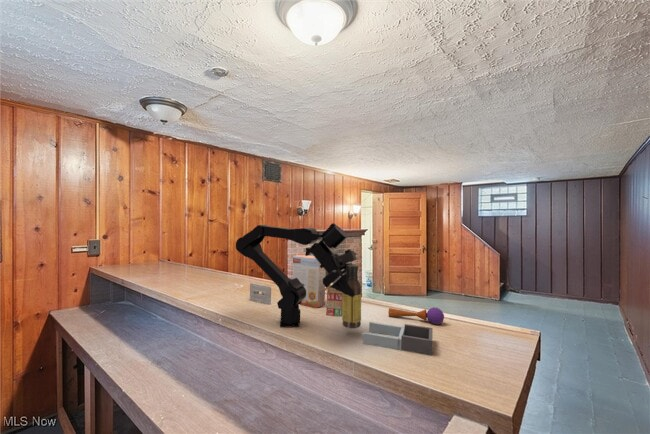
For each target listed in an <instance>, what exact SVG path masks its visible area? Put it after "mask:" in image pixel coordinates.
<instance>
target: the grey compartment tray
mask: <svg viewBox="0 0 650 434" xmlns="http://www.w3.org/2000/svg"><path fill="white" fill-rule="evenodd" d="M368 324H369V325H368V332H365V331H363V332H362V344H364V345H365V344H366V345H371V346H378V347H382V348H389V349H395V350H400V351H405V352H412V353H415V354H416V353H417V354H423V355H428V356H433V337H434V336H433V333H434V331H433V327H428V326H421V325H414V324H407V323H405V324H404V326H400V325H394V324H388V323H380V322H374V321H369V323H368Z"/></svg>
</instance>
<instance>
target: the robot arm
mask: <svg viewBox="0 0 650 434" xmlns="http://www.w3.org/2000/svg"><path fill="white" fill-rule="evenodd" d="M266 237H267V238H268V237H269V238H270V237H271V238H277V239H285V240H290V241H293V242H294V243H297V244H299V245H303V246H307V245H311V246H310V247H306V248H305V254H304V255H306V256H314V257H315V258H316V259H317V261H318V262H319V263H320V264H321V265H320V267H321V268H324V269H325V270H326V273H327V274H326V275H325V277H324V278H323V284H324V285H325V289H326V288H327V287H328V286H330V284H331V283H333V285H331V286H330V287H331V288H334V289H336V290H339V291H341V292H343V293H345V294H347V295H349V296H351V297H354V296H355V294H354V292H353V291H352V289H351V288H350V286H349V284H348V283H347V281H346V265H350V264H352V265H354V264H353V263H352V262H354V261H356V260H358V259H357V256H356V255H357V253H356V252H355V251H354V250H352V249H350V248H349V249H347V250H344V254H341V255H339V254H338V253H334V252H333V251H332V250H331V249H332V248H333V249H336V248H337V247H338V246H340V245H341V244H342V243H343V242H344V241H345V240H346V239H347V238H348V235H347V233H346V232H345V230H344V229H343V228H341V227H339V226H338V225H337V224H336V223H335V222H333V223H331V224H330V225H329V226H328V227H327V229H325V230H324V231H323V232H320V231H317V229H316V228H314V227H301V228H291V227H289V228H288V227H280V226H271V225H266V224H258V225H256V226H255V227H254V228H253V229H252V230H250V231H248V232H247V233H245V234H244V235H243V236H242V237H239V238H238V239H237V240H236V242H235V249H236V251H237V252H238V253H239V254H240V255H242V256H243V257H245V258H248V259H250V260H252V261H253V262H254V263H255V264H256V265H257V266H258V267H259V268H260V269H261V270H262V271H263V273H264V274H265V275H267V277H268V278H269V279H270V280H271V281H272V282H273V283H274V284H275V285H276V286H277V287H278V289H279V293H280V296H281V298H280V299H279V300H278V301H277V302H276V303H277V307H278V309H280V322H279V327H280V328H281V327H294V328H295V327H299V326H300V323H301V309H300V305H302V304H301V302H302V300H303V299H304V298H305V297H306V289H305V287H304V284H302V283H301V282H300V281H299V280H298V279H297V278H294V279H293V278H290V277H288V276H287V274H286V273H284V272H283V271H282V270H281V268H279V266H277V264H276V263H275V262H273V260H272V259H271V258H270V257H269V256H268V255H267V254H266V253H265V252H264V250H263V247H262V244H261V243H262V242H263V241H264V239H265V238H266ZM319 240H320V241H319ZM317 241H318V242H317Z"/></svg>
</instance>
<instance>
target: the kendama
mask: <svg viewBox="0 0 650 434" xmlns="http://www.w3.org/2000/svg"><path fill="white" fill-rule="evenodd" d="M443 312H444V311H442V310H441V309H440V308H438V307H434V306H433V307H430V308H429V309H428V310H427V309H424V310H423V309H422V310H420V311H418V312H414V311H413V312H412V311H407V310H401V309H396V308H391V307H389V308H388V311H387V313H388V317H389V318H390V317H391V318H393V317H394V318H395V317H396V318H397V317H398V318H399V317H417V318H419V319H421V320H423V321H425V322H427V321H429V323H431V324H433V325H439V324H442V322H443V321H444V319H445V314H444V313H443Z"/></svg>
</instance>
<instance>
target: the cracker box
mask: <svg viewBox="0 0 650 434" xmlns="http://www.w3.org/2000/svg"><path fill="white" fill-rule="evenodd" d="M320 265H321V264H320V263H319V262H318V261H317V259H316V258H315V257H314V256H313V255H308V256H306V255H305V254H295V255H293V256H292V279H294V278H297V279H298V280H299V281H300V282H301V283H302V284H304V287H305V289H306V297H305V298H304V299H303V300H302V302H301V304H300V305H301V306H302V305H303V306H308V307H312V308H317V309H319V308H320V307H323V306H325V302H326V301H325V300H326V298H325V297H326V287H325V285H324V284H323V278H324V277H325V276H326V273H327V271H326V270H325V269H324V268H321V267H320Z"/></svg>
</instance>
